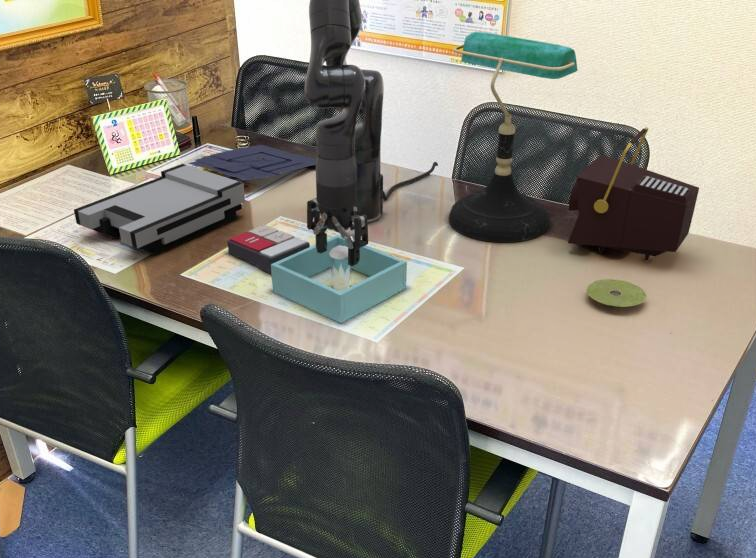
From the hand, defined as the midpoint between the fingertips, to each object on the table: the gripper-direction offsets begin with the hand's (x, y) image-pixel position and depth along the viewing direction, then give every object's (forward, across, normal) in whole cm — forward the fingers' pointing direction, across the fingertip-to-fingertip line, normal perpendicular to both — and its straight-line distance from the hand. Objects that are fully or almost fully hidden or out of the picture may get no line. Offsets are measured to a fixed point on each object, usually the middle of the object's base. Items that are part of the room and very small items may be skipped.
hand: (337, 258), depth 169 cm
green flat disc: (+7, -43, -34) cm, 55 cm away
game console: (+7, +51, +5) cm, 52 cm away
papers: (+7, +63, -34) cm, 72 cm away
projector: (+7, -33, -56) cm, 65 cm away
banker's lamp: (+7, -4, -49) cm, 50 cm away
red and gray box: (+7, +22, -1) cm, 23 cm away
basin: (+7, 0, 0) cm, 7 cm away
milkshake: (+7, 0, 0) cm, 7 cm away
